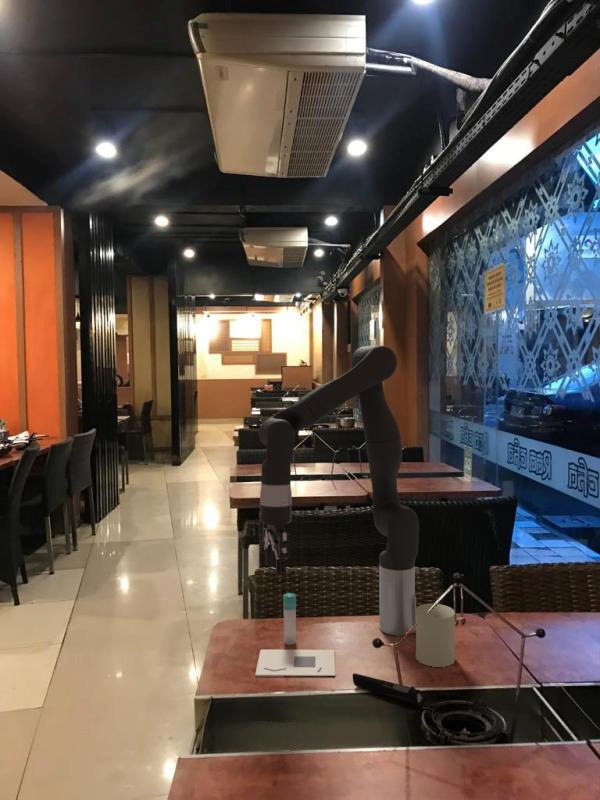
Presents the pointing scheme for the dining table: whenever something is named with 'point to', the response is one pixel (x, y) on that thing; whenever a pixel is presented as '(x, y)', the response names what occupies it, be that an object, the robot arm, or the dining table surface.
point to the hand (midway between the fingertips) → (275, 570)
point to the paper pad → (296, 663)
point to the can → (435, 635)
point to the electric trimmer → (388, 689)
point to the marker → (289, 618)
